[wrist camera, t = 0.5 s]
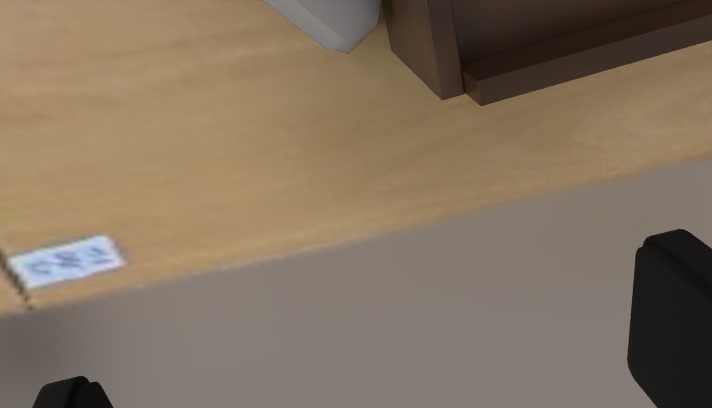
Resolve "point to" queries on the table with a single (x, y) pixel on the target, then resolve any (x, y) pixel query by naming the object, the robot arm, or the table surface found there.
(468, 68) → the shelf rack
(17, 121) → the table surface
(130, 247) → the table surface
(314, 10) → the tube
